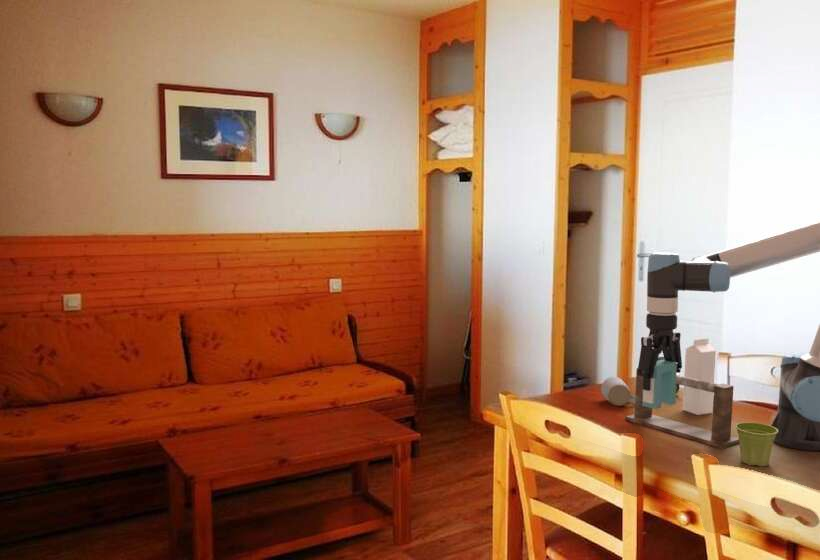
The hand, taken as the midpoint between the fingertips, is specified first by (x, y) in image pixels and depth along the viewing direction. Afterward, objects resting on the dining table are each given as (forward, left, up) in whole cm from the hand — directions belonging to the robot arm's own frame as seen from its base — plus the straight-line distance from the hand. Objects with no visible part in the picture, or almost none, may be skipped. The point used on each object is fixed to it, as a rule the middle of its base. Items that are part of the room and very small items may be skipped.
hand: (659, 399), depth 195 cm
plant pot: (-23, -7, -12) cm, 26 cm away
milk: (+10, -35, -12) cm, 38 cm away
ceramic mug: (+29, -23, -12) cm, 39 cm away
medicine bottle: (+28, -44, -12) cm, 54 cm away
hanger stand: (+2, -14, -12) cm, 18 cm away
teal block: (0, 0, -1) cm, 1 cm away
